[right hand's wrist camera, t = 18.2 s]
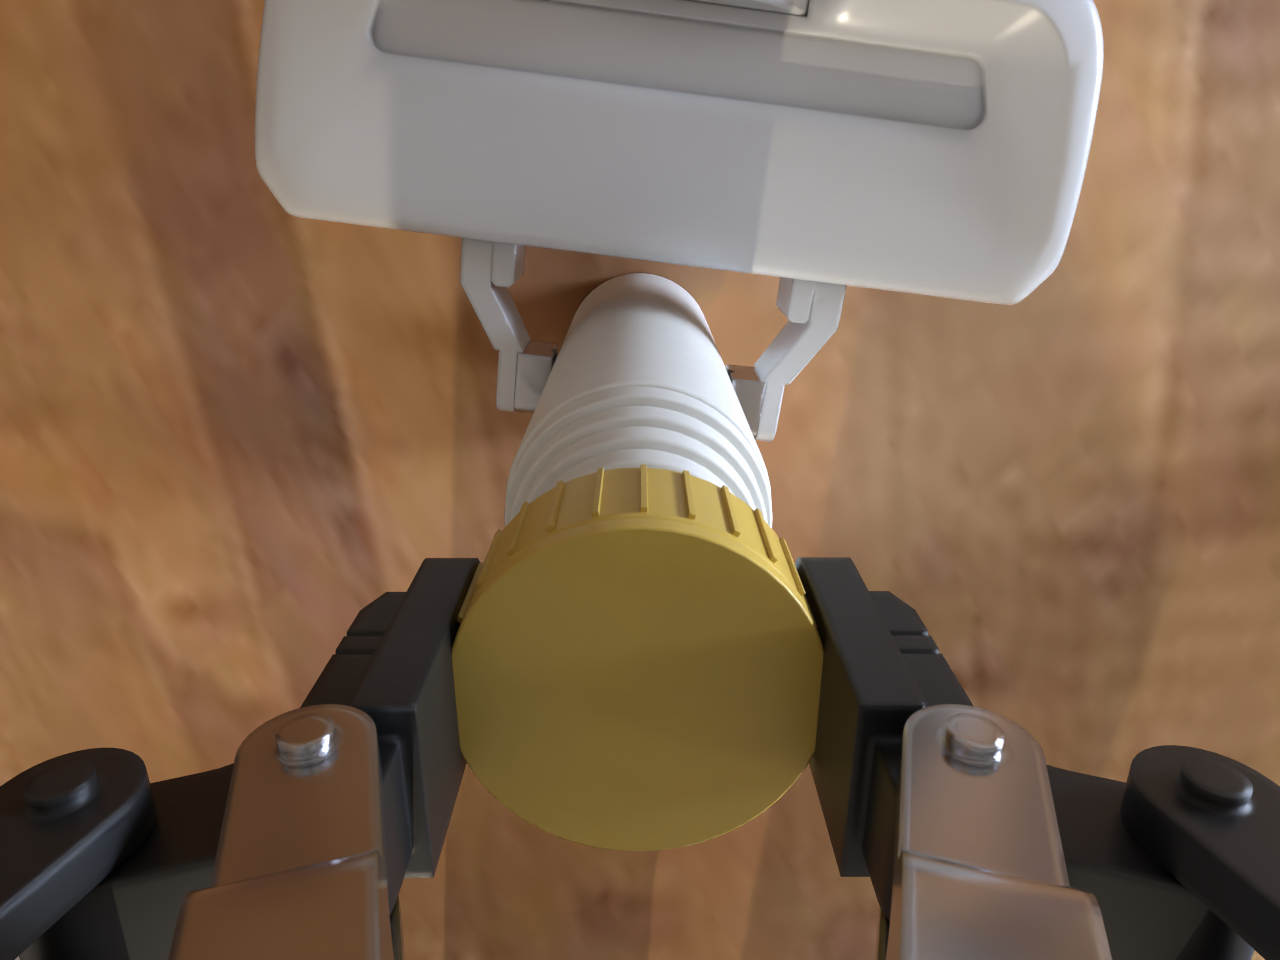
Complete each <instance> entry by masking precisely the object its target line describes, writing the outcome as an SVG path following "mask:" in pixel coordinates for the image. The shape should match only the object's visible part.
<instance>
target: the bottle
mask: <svg viewBox="0 0 1280 960" xmlns="http://www.w3.org/2000/svg"><path fill="white" fill-rule="evenodd" d="M641 464H646V465H647V468H656V469H667V470H671V471H676V472H680V473H683V470H686V471H689V473H690V475H692V476H695V477H698V478H700V479H703V480H706V481H709V482H711V483H713V484H715V485H717V486H719V487H722V486H723V485H725V486H727V487H728V488H729V492H730V493H732V494H733V495H735V496H736V497H738V498H739V499H741V500H742V501H743V502H745V503H746V504H748V505H749V506H750V507H751V508H752V509H753V510H755V509H756V508H758V509H759V510H760V511H761V512H762V515H763V518H764V520H765V521H766V523H767V524H768V525H769V526H770V527H771V529H772V506H771V490H770V483H769V478H768V474H767V470H766V467H765V464H764V462H763V459H762V456H761V454H760V451H759V449H758V446H757V444H756V442H755V439H754V437H753V434H752V432H751V429H750V427H749V424H748V422H747V420H746V417H745V415H744V412H743V410H742V407H741V405H740V403H739V400H738V398H737V395H736V393H735V390H734V388H733V385H732V383H731V381H730V378H729V376H728V373H727V371H726V368H725V366H724V364H723V361H722V359H721V356H720V354H719V351H718V349H717V346H716V344H715V342H714V339H713V337H712V334H711V332H710V329H709V327H708V325H707V322H706V320H705V317H704V315H703V313H702V311H701V309H700V307H699V305H698V304H697V303H696V301H695V300H694V299H693V298H692V296H691V295H690V294H689V293H688V292H687V291H685V290H684V289H683V288H682V287H680V286H679V285H677V284H676V283H674V282H672V281H671V280H668V279H666V278H664V277H660V276H657V275H653V274H646V273H633V274H625V275H622V276H618V277H615V278H612V279H610V280H608V281H606V282H604V283H603V284H601V285H599V286H598V287H597V288H595V289H594V290H593V291H592V292H591V293H590V294H589V295H588V296H587V297H586V298H585V299H584V300H583V302H582V303H581V304H580V306H579V308H578V310H577V311H576V313H575V316H574V318H573V320H572V323H571V325H570V327H569V330H568V332H567V335H566V337H565V339H564V342H563V344H562V346H561V349H560V351H559V354H558V356H557V358H556V361H555V363H554V366H553V368H552V370H551V373H550V375H549V377H548V380H547V382H546V385H545V387H544V389H543V392H542V394H541V396H540V399H539V401H538V404H537V406H536V408H535V411H534V413H533V415H532V418H531V420H530V423H529V425H528V427H527V430H526V432H525V434H524V437H523V439H522V442H521V444H520V446H519V449H518V451H517V454H516V456H515V459H514V461H513V464H512V466H511V469H510V473H509V478H508V482H507V489H506V503H505V515H504V516H505V527H506V525H507V524H508V523H509V522H510V521H511V520H512V519H513V518H514V517H515V516H516V515H517V514H518V513H519V512H520V510H521V507H522V504H524V503H525V502H526V501H527V502H528V503H529V504H530V503H531V502H532V501H534V500H535V499H536V498H537V497H539V496H541V495H543V494H544V493H546V492H548V491H549V490H551V489H553V488H554V487H556V485H557V482H559V481H561V480H563V482H564V483H565V482H568V481H570V480H572V479H575V478H577V477H581V476H584V475H588V474H591V473H595V472H597V469H598V468H604V471H605V470H611V469H617V468H637V467H640V465H641Z"/></svg>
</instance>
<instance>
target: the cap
mask: <svg viewBox="0 0 1280 960" xmlns="http://www.w3.org/2000/svg"><path fill="white" fill-rule="evenodd" d="M805 594H806V593H805V590H804V588H803V585H802V583H801V580H800V577H799V575H798V572H797V569H796V567H795V564H794V562H793V559H792V556H791V554H790V551H789V549H788V546H787V543H786V541H785V539H784V538H781V539H779V538H778V536H777V535H776V533H775V532H774V531H773V530H772V529H771V527H770V526H769V525H768V524H767V523H766V521H765V520H764V518H763V515H762V512H761V511H760V510H759V509H758V508H756V509H755V510H753V509H752V508H751V507H750V506H749V505H748V504H746V503H745V502H743V501H742V500H741V499H739V498H738V497H736V496H735V495H733V494H732V493H730V492H729V488H728V487H727V486H725V485H723V486H722V487H719V486H717V485H715V484H713V483H711V482H709V481H706V480H703V479H700V478H698V477H695V476H692V475H690V473H689V471H686V470H683V473H680V472H676V471H671V470H667V469H656V468H647V465H646V464H641V465H640V467H637V468H617V469H611V470H605V471H604V468H598V469H597V472H595V473H591V474H588V475H584V476H581V477H577V478H575V479H572V480H570V481H568V482H565V483H564V482H563V480H561V481H559V482H557V485H556V487H554V488H553V489H551V490H549V491H548V492H546V493H544V494H543V495H541V496H539V497H537V498H536V499H535V500H534V501H532V502H531V503H530V504H529V503H528V502H527V501H526V502H525V503H524V504H522V507H521V510H520V512H519V513H518V514H517V515H516V516H515V517H514V518H513V519H512V520H511V521H510V522H509V523H508V524H507V525H506V527H505V528H504V529H503V531H501V530H499V529H498V530H497V532H496V533H495V536H494V539H493V541H492V544H491V546H490V549H489V551H488V554H487V557H486V559H485V561H484V563H482V562H479V564H478V567H477V569H476V572H475V575H474V577H473V580H472V582H471V585H470V587H469V590H468V592H467V595H466V597H465V600H464V602H463V605H462V607H461V610H460V612H459V615H458V617H457V619H458V622H460V623H461V624H460V626H459V629H458V631H457V634H456V637H455V640H454V643H453V646H452V664H453V675H454V685H455V696H456V707H457V718H458V729H459V740H460V749H461V753H462V755H463V757H464V759H465V760H466V762H467V764H468V765H469V767H470V768H471V770H472V771H473V773H474V774H475V776H476V777H477V778H478V779H479V781H480V782H481V783H482V784H483V785H484V786H485V788H486V789H487V790H488V791H489V792H490V793H491V794H492V795H493V796H494V797H495V798H496V799H497V800H499V801H500V802H501V803H502V804H503V805H504V806H505V807H506V808H508V809H509V810H511V811H512V812H514V813H515V814H516V815H518V816H519V817H521V818H522V819H523V820H525V821H527V822H529V823H531V824H532V825H534V826H536V827H538V828H540V829H542V830H543V831H546V832H548V833H551V834H553V835H556V836H558V837H560V838H563V839H566V840H569V841H572V842H576V843H579V844H583V845H586V846H592V847H597V848H603V849H608V850H620V851H658V850H665V849H673V848H680V847H684V846H688V845H692V844H697V843H701V842H704V841H706V840H709V839H712V838H715V837H718V836H721V835H723V834H725V833H727V832H729V831H731V830H734V829H736V828H738V827H740V826H742V825H744V824H745V823H747V822H748V821H750V820H752V819H753V818H755V817H756V816H758V815H760V814H761V813H762V812H764V811H765V810H766V809H767V808H769V807H770V806H771V805H772V804H774V803H775V802H776V801H777V800H778V799H779V798H780V797H781V796H782V795H783V794H784V793H785V792H786V791H787V790H788V789H789V788H790V787H791V786H792V785H793V784H794V783H795V781H796V780H797V779H798V777H799V776H800V775H801V773H802V772H803V770H804V769H805V768H806V766H807V764H808V763H809V761H810V759H811V757H812V755H813V754H814V752H815V744H816V733H817V721H818V710H819V699H820V688H821V677H822V665H823V652H824V651H823V644H822V641H821V638H820V636H819V633H818V631H817V625H816V623H815V620H814V617H813V615H812V612H811V609H810V607H809V604H808V602H807V599H806V596H805Z"/></svg>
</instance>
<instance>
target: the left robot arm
mask: <svg viewBox="0 0 1280 960" xmlns="http://www.w3.org/2000/svg"><path fill="white" fill-rule="evenodd" d="M1102 71H1103V34H1102V27H1101V22H1100V18H1099V14H1098V11H1097V8H1096V6H1095V4H1094V2H1093V0H265V3H264V11H263V19H262V27H261V36H260V46H259V57H258V70H257V86H256V107H255V160H256V167H257V170H258V173H259V175H260V177H261V178H262V180H263V181H264V182H265V184H266V185H267V187H268V188H269V189H270V191H271V192H272V194H273V195H274V197H275V198H276V199H277V201H278V202H279V203H280V205H281V206H282V207H283V208H284V210H285V211H286V212H287V213H289V214H290V215H292V216H295V217H301V218H308V219H316V220H324V221H332V222H340V223H348V224H356V225H364V226H372V227H380V228H388V229H396V230H404V231H413V232H421V233H429V234H437V235H445V236H453V237H461V238H462V256H461V279H460V283H461V285H462V287H463V289H464V291H465V293H466V295H467V297H468V299H469V300H470V302H471V304H472V306H473V308H474V310H475V312H476V314H477V316H478V318H479V320H480V322H481V324H482V326H483V328H484V330H485V332H486V334H487V336H488V338H489V340H490V342H491V344H492V346H493V348H494V349H495V350H499V360H498V376H497V393H496V406H497V410H502V411H508V412H521V413H531V414H533V413H534V411H535V408H536V406H537V404H538V401H539V399H540V396H541V394H542V392H543V389H544V387H545V385H546V382H547V380H548V377H549V375H550V373H551V370H552V368H553V366H554V363H555V361H556V358H557V353H558V344H552V343H545V342H538V341H531V340H530V336H529V334H528V332H527V330H526V328H525V325H524V323H523V321H522V319H521V316H520V314H519V312H518V310H517V308H516V305H515V303H514V301H513V299H512V297H511V294H510V292H509V290H508V288H507V287H510V286H511V285H512V284H513V283H514V282H516V281H517V280H518V279H519V278H520V277H521V276H522V275H523V274H524V262H525V250H526V246H534V247H542V248H550V249H558V250H566V251H574V252H582V253H590V254H598V255H606V256H614V257H623V258H631V259H639V260H647V261H655V262H663V263H671V264H679V265H687V266H695V267H703V268H711V269H719V270H728V271H736V272H744V273H752V274H760V275H768V276H776V277H780V282H779V289H778V295H777V301H776V305H777V307H778V309H779V310H780V311H781V312H782V313H783V314H784V315H785V316H786V317H787V318H788V319H789V321H788V322H787V323H786V325H785V326H784V327H783V328H782V330H781V331H780V332H779V334H778V335H777V336H776V337H775V339H774V340H773V341H772V343H771V344H770V345H769V346H768V348H767V349H766V350H765V351H764V353H763V354H762V355H761V357H760V358H759V359H758V360H757V362H756V363H755V364H754V367H748V366H738V365H728V364H726V371H727V373H728V376H729V378H730V381H731V383H732V385H733V388H734V390H735V393H736V395H737V398H738V400H739V403H740V405H741V407H742V410H743V412H744V415H745V417H746V420H747V422H748V424H749V427H750V429H751V432H752V434H753V437H754V439H755V440H761V441H769V442H771V441H772V440H773V439H774V436H775V433H776V429H777V423H778V418H779V413H780V407H781V402H782V396H783V391H784V386H785V384H790V383H791V382H792V381H793V380H794V378H795V377H796V376H797V375H798V374H799V373H800V372H801V370H802V369H803V368H804V367H805V366H806V365H807V363H808V362H809V361H810V360H811V359H812V358H813V357H814V355H815V354H816V353H817V352H818V351H819V350H820V348H821V347H822V346H823V345H824V344H825V343H826V342H827V340H828V339H829V338H830V337H831V336H832V335H833V333H834V332H835V331H836V330H837V329H838V324H839V319H840V314H841V310H842V305H843V300H844V295H845V290H846V286H847V285H849V286H857V287H865V288H873V289H881V290H889V291H897V292H905V293H913V294H921V295H929V296H938V297H946V298H954V299H962V300H970V301H978V302H986V303H995V304H1003V305H1013V304H1016V303H1018V302H1020V301H1021V300H1022V299H1024V298H1025V297H1026V296H1028V295H1029V294H1030V293H1031V292H1032V291H1033V290H1035V289H1036V288H1037V287H1038V286H1039V285H1040V284H1041V283H1042V282H1043V281H1044V280H1045V279H1047V278H1048V277H1049V276H1050V275H1051V274H1052V273H1053V272H1054V270H1055V269H1056V267H1057V266H1058V264H1059V262H1060V259H1061V257H1062V254H1063V252H1064V249H1065V246H1066V243H1067V240H1068V237H1069V233H1070V230H1071V226H1072V222H1073V219H1074V215H1075V211H1076V207H1077V203H1078V199H1079V196H1080V192H1081V187H1082V183H1083V179H1084V174H1085V170H1086V165H1087V161H1088V155H1089V150H1090V145H1091V140H1092V135H1093V130H1094V124H1095V118H1096V112H1097V106H1098V100H1099V94H1100V87H1101V80H1102Z"/></svg>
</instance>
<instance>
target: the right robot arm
mask: <svg viewBox="0 0 1280 960" xmlns="http://www.w3.org/2000/svg"><path fill="white" fill-rule="evenodd" d="M479 562H480V561H479V559H478V558H426V559H424V561H423V562H422V564H421V566H420V568H419V570H418V572H417V574H416V575H415V577H414V579H413V581H412V583H411V585H410V587H409V589H408V590H407V592H386V593H384V594H383V595H382V596H380V597H379V598H377V599H376V600H374V601H373V602H372V603H370V604H369V605H367V606H366V607H365V608H363V609H362V610H360V612H359V613H358V615H357V617H356V618H355V620H354V621H353V623H352V625H351V626H350V628H349V630H348V631H347V636H344V638H343V639H342V641H341V642H340V644H339V646H338V647H337V649H336V655H332V657H331V659H330V660H329V662H328V663H327V665H326V667H325V668H324V670H323V672H322V673H321V675H320V676H319V678H318V680H317V681H316V683H315V685H314V686H313V688H312V689H311V691H310V693H309V694H308V696H307V697H306V699H305V701H304V702H303V704H302V706H301V707H300V708H298V709H295V710H292V711H289V712H286V713H284V714H281V715H279V716H276V717H274V718H273V719H271V720H269V721H267V722H265V723H264V724H262V725H261V726H259V727H258V728H256V729H255V730H254V731H253V732H252V733H251V734H249V735H248V736H247V738H246V739H245V740H244V741H243V742H242V744H241V745H240V747H239V749H238V751H237V754H236V757H235V761H234V764H231V765H228V766H225V767H222V768H219V769H215V770H211V771H207V772H202V773H198V774H193V775H188V776H183V777H179V778H174V779H169V780H164V781H160V782H155V783H150V782H149V778H148V774H147V770H146V767H145V764H144V761H143V760H142V759H141V758H140V757H139V756H138V755H136V754H134V753H133V752H130V751H127V750H124V749H118V748H94V749H86V750H81V751H76V752H72V753H68V754H64V755H61V756H58V757H55V758H52V759H50V760H47V761H45V762H42V763H40V764H38V765H36V766H33V767H32V768H30V769H28V770H26V771H24V772H22V773H20V774H19V775H17V776H16V777H14V778H12V779H11V780H9V781H8V782H6V783H5V784H3V785H2V786H1V787H0V960H15V959H16V958H17V957H18V956H19V958H20V960H405V956H404V941H403V926H402V918H401V911H400V903H399V896H398V894H399V891H400V888H401V885H402V882H403V879H404V878H434V874H435V871H436V867H437V864H438V860H439V857H440V853H441V850H442V846H443V843H444V839H445V836H446V832H447V829H448V825H449V822H450V818H451V815H452V811H453V808H454V804H455V801H456V797H457V794H458V790H459V787H460V783H461V780H462V776H463V773H464V769H465V766H466V760H465V759H464V757H463V755H462V753H461V749H460V740H459V729H458V718H457V707H456V696H455V685H454V675H453V664H452V646H453V643H454V640H455V637H456V634H457V631H458V629H459V626H460V624H461V623H460V622H458V619H457V617H458V615H459V612H460V610H461V607H462V605H463V602H464V600H465V597H466V595H467V592H468V590H469V587H470V585H471V582H472V580H473V577H474V575H475V572H476V569H477V567H478V564H479ZM795 567H796V569H797V572H798V575H799V577H800V580H801V583H802V585H803V588H804V590H805V593H806V594H805V596H806V599H807V602H808V604H809V607H810V609H811V612H812V615H813V617H814V620H815V623H816V625H817V631H818V633H819V636H820V638H821V641H822V644H823V651H824V652H823V665H822V677H821V688H820V699H819V710H818V721H817V733H816V744H815V752H814V754H813V755H812V757H811V759H810V761H809V764H810V768H811V771H812V775H813V778H814V782H815V786H816V789H817V793H818V796H819V800H820V804H821V807H822V811H823V814H824V818H825V822H826V825H827V829H828V832H829V836H830V839H831V843H832V847H833V850H834V854H835V857H836V861H837V865H838V868H839V872H840V875H841V877H870V878H871V881H872V884H873V887H874V890H875V893H876V896H877V899H878V902H879V905H880V911H879V918H878V926H877V941H876V956H875V960H1251V958H1252V955H1253V953H1254V950H1255V951H1257V952H1258V953H1259V954H1260V955H1261V956H1262V957H1263V958H1264V959H1265V960H1280V787H1279V786H1278V785H1277V784H1275V783H1274V782H1272V781H1271V780H1269V779H1268V778H1266V777H1265V776H1263V775H1262V774H1260V773H1258V772H1257V771H1255V770H1253V769H1252V768H1250V767H1248V766H1246V765H1244V764H1242V763H1240V762H1237V761H1235V760H1233V759H1230V758H1228V757H1225V756H1222V755H1220V754H1217V753H1214V752H1210V751H1206V750H1202V749H1198V748H1192V747H1186V746H1175V745H1171V746H1157V747H1152V748H1149V749H1146V750H1144V751H1142V752H1140V753H1139V754H1137V756H1136V757H1135V758H1134V759H1133V761H1132V764H1131V767H1130V771H1129V775H1128V779H1127V783H1124V782H1119V781H1115V780H1110V779H1105V778H1100V777H1096V776H1091V775H1086V774H1081V773H1077V772H1072V771H1067V770H1063V769H1059V768H1055V767H1052V766H1049V765H1046V761H1045V757H1044V754H1043V751H1042V749H1041V747H1040V745H1039V744H1038V742H1037V741H1036V740H1035V739H1034V738H1033V736H1032V735H1031V734H1029V733H1028V732H1027V731H1026V730H1025V729H1024V728H1022V727H1021V726H1019V725H1018V724H1016V723H1015V722H1013V721H1011V720H1009V719H1007V718H1006V717H1004V716H1001V715H999V714H996V713H994V712H991V711H988V710H985V709H982V708H977V707H974V706H973V705H972V703H971V701H970V700H969V698H968V696H967V695H966V693H965V691H964V690H963V688H962V686H961V685H960V683H959V682H958V680H957V678H956V677H955V675H954V673H953V672H952V670H951V668H950V667H949V665H948V663H947V662H946V660H945V658H944V657H943V655H942V654H939V649H938V647H937V645H936V644H935V642H934V640H933V639H932V637H931V636H928V631H927V629H926V627H925V626H924V624H923V622H922V621H921V619H920V617H919V616H918V614H917V612H916V611H915V610H914V609H913V608H912V607H910V606H909V605H907V604H906V603H905V602H903V601H902V600H900V599H899V598H897V597H896V596H895V595H893V594H892V593H890V592H889V591H868V590H867V588H866V586H865V584H864V582H863V580H862V578H861V576H860V574H859V572H858V571H857V569H856V567H855V565H854V563H853V561H852V560H851V559H850V558H797V560H796V563H795Z"/></svg>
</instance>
